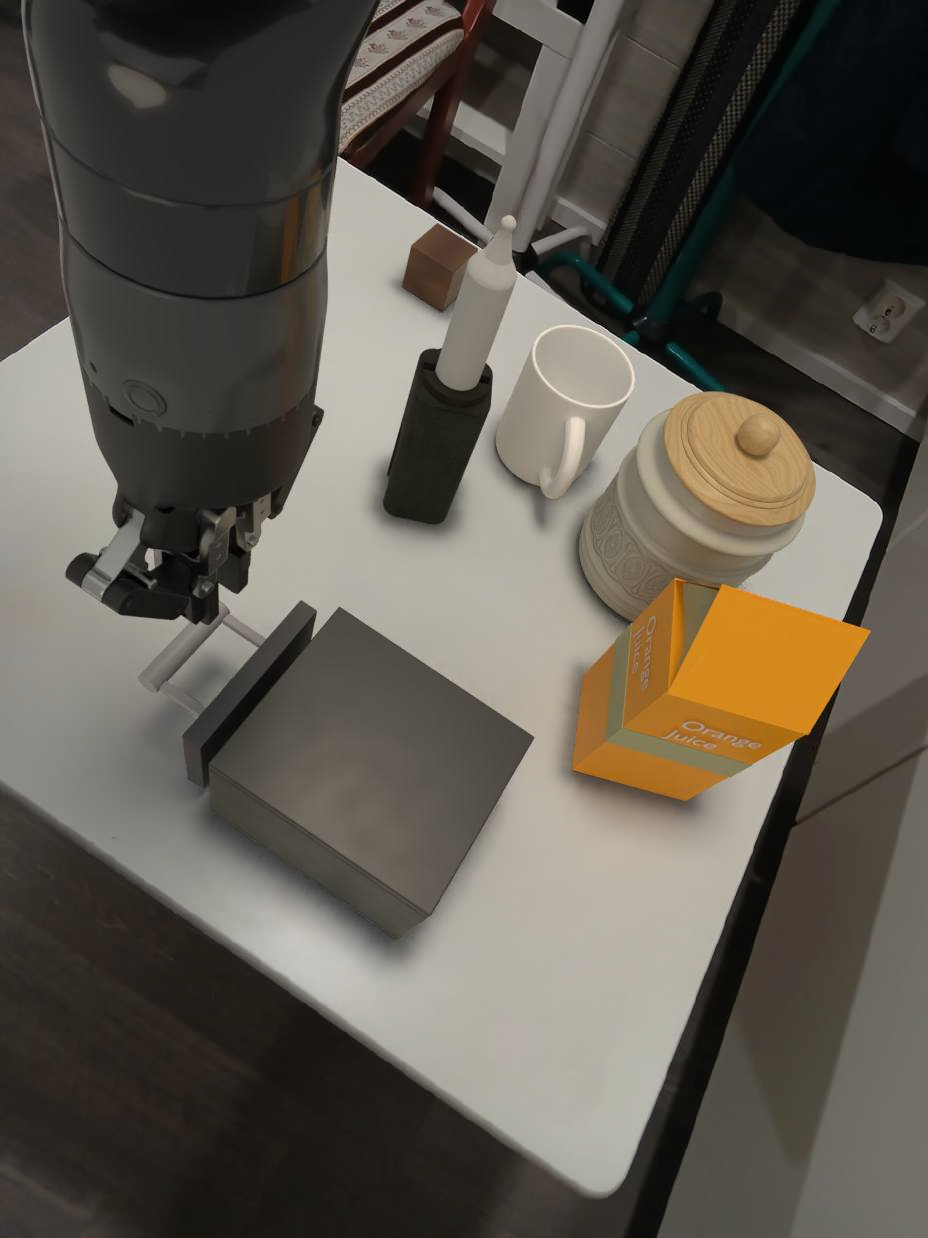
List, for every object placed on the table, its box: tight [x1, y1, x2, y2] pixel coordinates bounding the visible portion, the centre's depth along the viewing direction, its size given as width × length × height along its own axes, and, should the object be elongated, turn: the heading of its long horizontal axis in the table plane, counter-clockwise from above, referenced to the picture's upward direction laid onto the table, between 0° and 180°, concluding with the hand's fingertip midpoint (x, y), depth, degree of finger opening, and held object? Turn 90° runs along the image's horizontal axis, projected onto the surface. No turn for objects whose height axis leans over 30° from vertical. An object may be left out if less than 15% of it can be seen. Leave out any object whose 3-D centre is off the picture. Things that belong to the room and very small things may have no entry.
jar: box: [578, 391, 817, 623], centre depth 60 cm, size 13×13×18 cm
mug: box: [495, 324, 636, 500], centre depth 64 cm, size 12×8×10 cm
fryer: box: [209, 606, 535, 940], centre depth 48 cm, size 14×12×10 cm
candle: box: [382, 214, 518, 525], centre depth 54 cm, size 5×5×25 cm
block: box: [401, 222, 479, 313], centre depth 74 cm, size 4×4×4 cm
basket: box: [137, 599, 318, 790], centre depth 48 cm, size 17×10×8 cm, turn 59°
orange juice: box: [571, 578, 872, 802], centre depth 51 cm, size 8×9×20 cm
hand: (210, 595), depth 41 cm, fingers closed
